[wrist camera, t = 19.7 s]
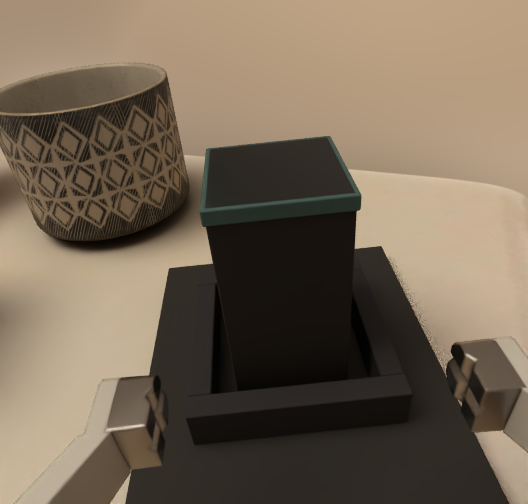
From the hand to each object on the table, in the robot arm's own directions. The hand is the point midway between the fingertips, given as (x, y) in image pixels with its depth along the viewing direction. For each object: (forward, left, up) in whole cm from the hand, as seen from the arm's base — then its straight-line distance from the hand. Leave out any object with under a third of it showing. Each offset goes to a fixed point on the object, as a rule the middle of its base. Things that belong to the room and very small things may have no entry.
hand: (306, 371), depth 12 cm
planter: (+27, -9, -8) cm, 29 cm away
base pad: (+5, -5, -8) cm, 10 cm away
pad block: (+5, -5, -7) cm, 10 cm away
